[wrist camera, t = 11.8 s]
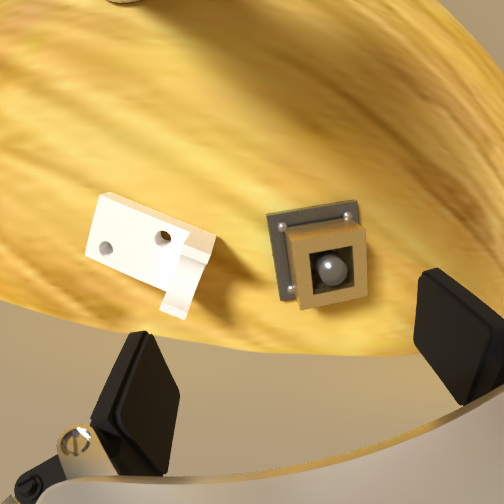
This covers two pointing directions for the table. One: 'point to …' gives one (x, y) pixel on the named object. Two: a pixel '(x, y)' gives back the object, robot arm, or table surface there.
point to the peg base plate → (320, 262)
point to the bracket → (150, 249)
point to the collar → (321, 239)
